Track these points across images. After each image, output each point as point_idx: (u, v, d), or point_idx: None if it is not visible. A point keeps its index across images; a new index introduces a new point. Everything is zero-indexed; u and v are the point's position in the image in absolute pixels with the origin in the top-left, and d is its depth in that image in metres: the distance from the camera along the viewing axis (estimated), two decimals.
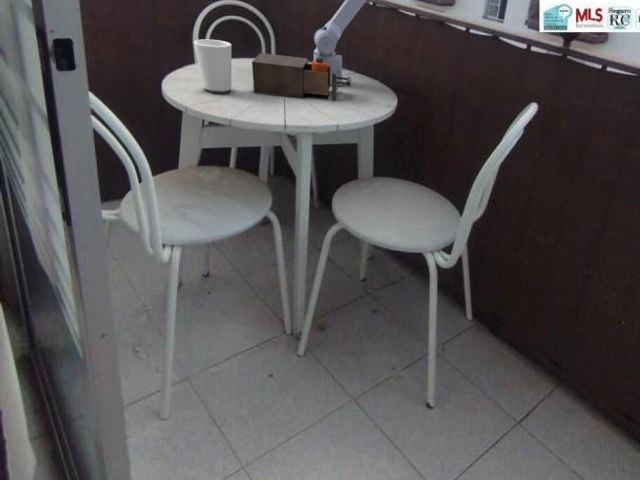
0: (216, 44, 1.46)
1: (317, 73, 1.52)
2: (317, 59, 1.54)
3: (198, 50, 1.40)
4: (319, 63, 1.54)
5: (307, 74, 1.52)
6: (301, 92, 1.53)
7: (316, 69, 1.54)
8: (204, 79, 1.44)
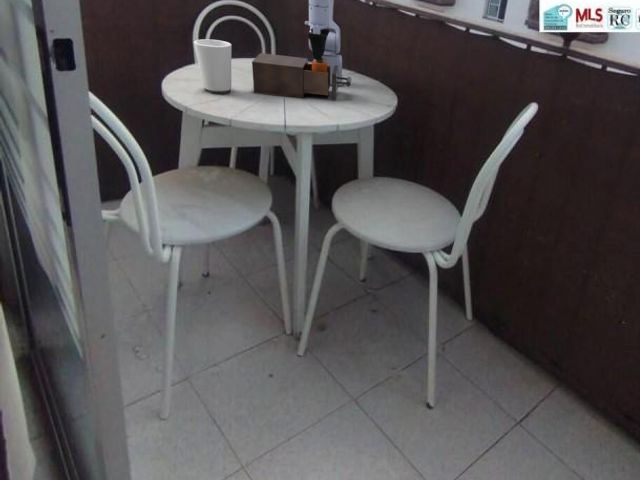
0: (216, 44, 1.46)
1: (317, 73, 1.52)
2: None
3: (198, 50, 1.40)
4: (319, 63, 1.54)
5: (307, 74, 1.52)
6: (301, 92, 1.53)
7: (316, 69, 1.54)
8: (204, 79, 1.44)
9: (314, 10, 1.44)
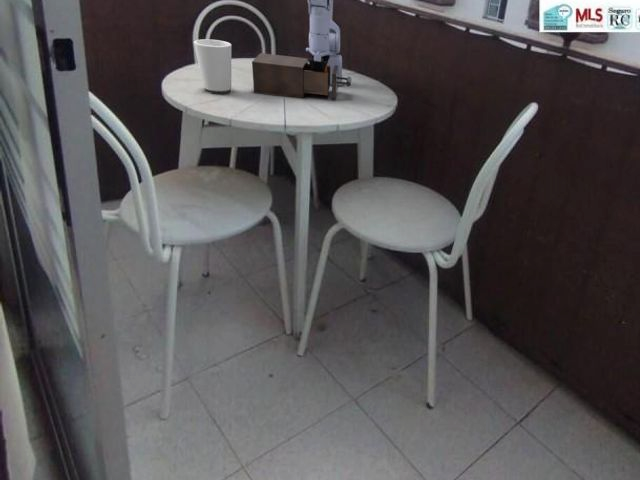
0: (216, 44, 1.46)
1: (317, 73, 1.52)
2: None
3: (198, 50, 1.40)
4: None
5: (307, 74, 1.52)
6: (301, 92, 1.53)
7: None
8: (204, 79, 1.44)
9: (315, 38, 1.49)
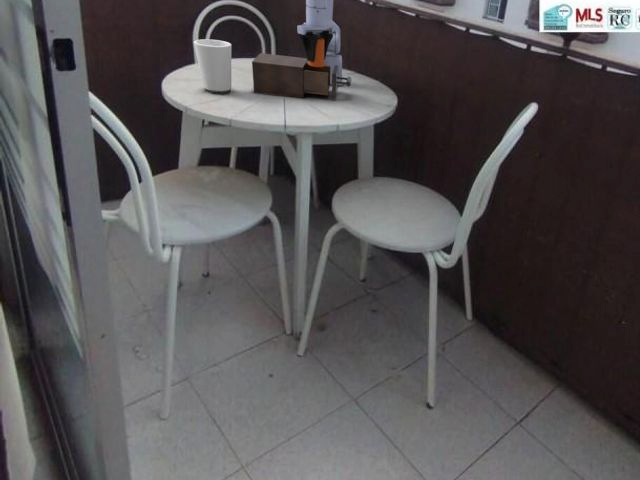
0: (216, 44, 1.46)
1: (317, 73, 1.52)
2: None
3: (198, 50, 1.40)
4: None
5: (307, 74, 1.52)
6: (301, 92, 1.53)
7: None
8: (204, 79, 1.44)
9: (307, 11, 1.42)
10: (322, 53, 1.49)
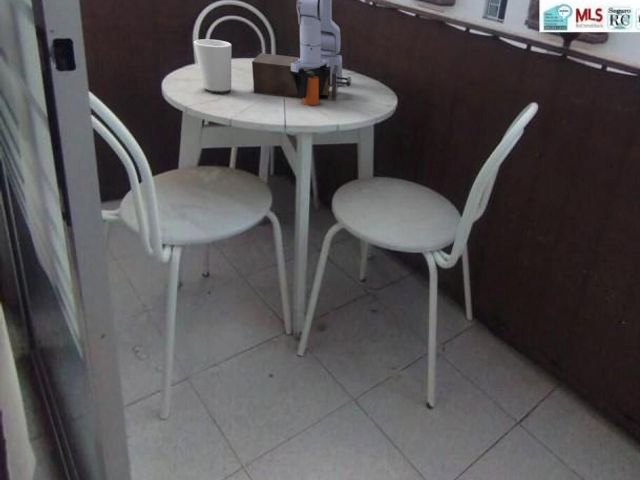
0: (216, 44, 1.46)
1: None
2: (307, 73, 1.46)
3: (198, 50, 1.40)
4: None
5: None
6: None
7: None
8: (204, 79, 1.44)
9: (301, 48, 1.41)
10: (316, 92, 1.48)
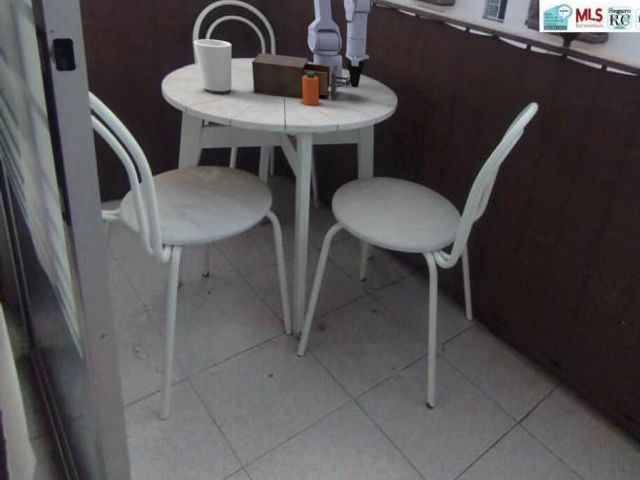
0: (216, 44, 1.46)
1: (316, 73, 1.52)
2: (307, 73, 1.46)
3: (198, 50, 1.40)
4: (307, 78, 1.45)
5: None
6: (301, 92, 1.53)
7: (303, 83, 1.46)
8: (204, 79, 1.44)
9: None
10: (316, 92, 1.48)
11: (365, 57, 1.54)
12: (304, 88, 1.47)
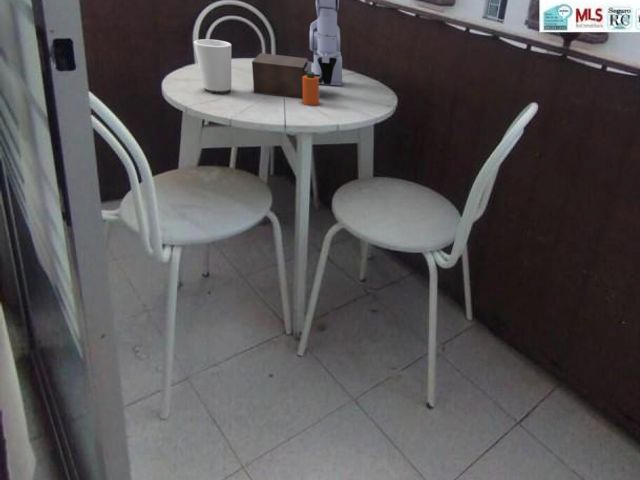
0: (216, 44, 1.46)
1: None
2: (307, 73, 1.46)
3: (198, 50, 1.40)
4: (307, 78, 1.45)
5: None
6: (301, 92, 1.53)
7: (303, 83, 1.46)
8: (204, 79, 1.44)
9: None
10: (316, 92, 1.48)
11: (336, 54, 1.53)
12: (304, 88, 1.47)
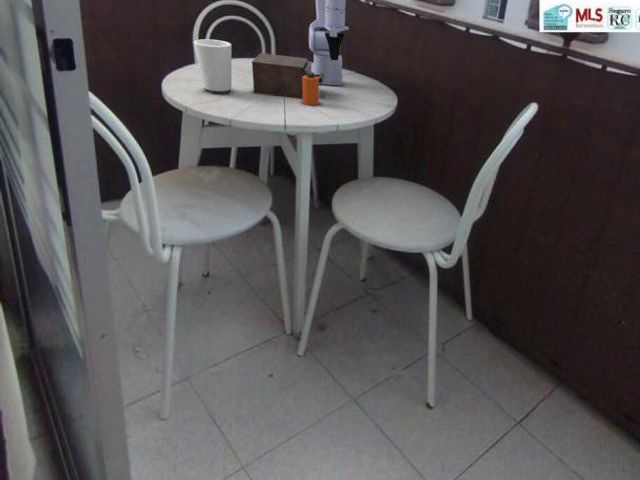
0: (216, 44, 1.46)
1: None
2: (307, 73, 1.46)
3: (198, 50, 1.40)
4: (307, 78, 1.45)
5: None
6: (301, 92, 1.53)
7: (303, 83, 1.46)
8: (204, 79, 1.44)
9: None
10: (316, 92, 1.48)
11: (344, 28, 1.49)
12: (304, 88, 1.47)
